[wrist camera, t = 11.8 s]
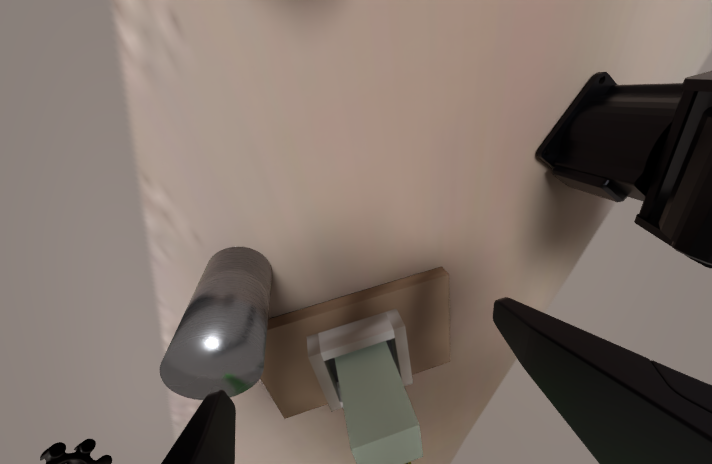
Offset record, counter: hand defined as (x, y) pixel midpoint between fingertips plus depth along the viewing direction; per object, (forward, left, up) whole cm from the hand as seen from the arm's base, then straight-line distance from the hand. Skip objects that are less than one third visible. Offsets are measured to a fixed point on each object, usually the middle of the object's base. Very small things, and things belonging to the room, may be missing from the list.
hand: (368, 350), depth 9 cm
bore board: (+11, +9, -12) cm, 19 cm away
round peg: (+7, -3, -12) cm, 14 cm away
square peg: (+11, +9, -11) cm, 18 cm away
